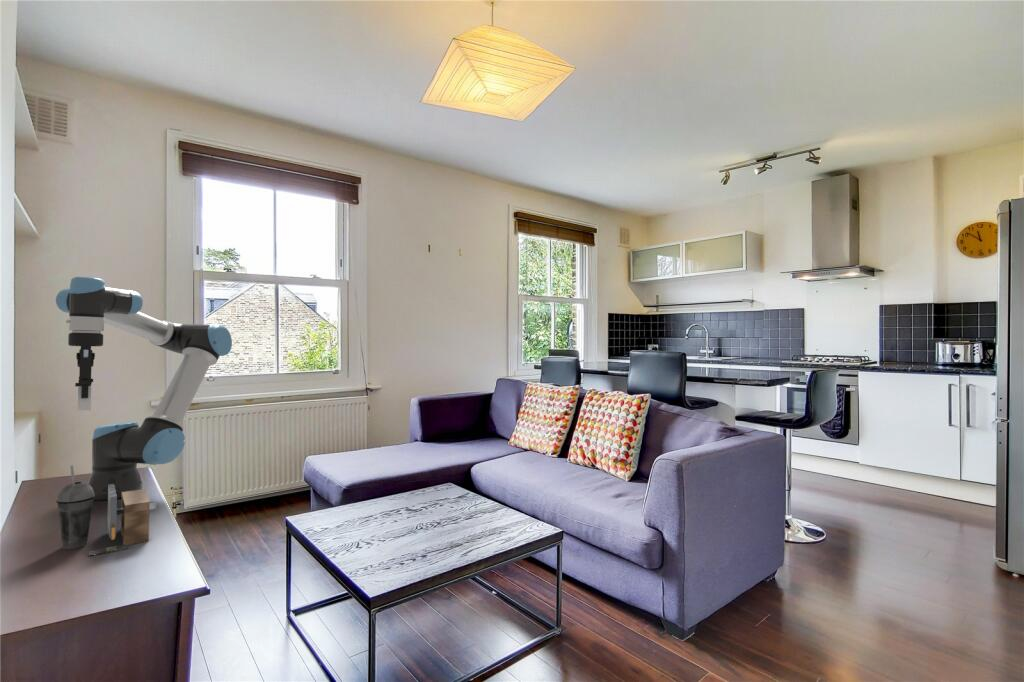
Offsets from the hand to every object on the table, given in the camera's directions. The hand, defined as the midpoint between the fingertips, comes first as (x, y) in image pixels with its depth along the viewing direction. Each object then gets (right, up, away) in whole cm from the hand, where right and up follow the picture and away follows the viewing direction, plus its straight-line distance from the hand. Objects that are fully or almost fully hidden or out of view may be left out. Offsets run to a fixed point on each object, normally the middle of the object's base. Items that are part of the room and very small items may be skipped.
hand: (84, 407), depth 141 cm
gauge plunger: (+22, -30, -11) cm, 38 cm away
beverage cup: (+12, -32, -17) cm, 38 cm away
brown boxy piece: (+20, -32, -13) cm, 40 cm away
